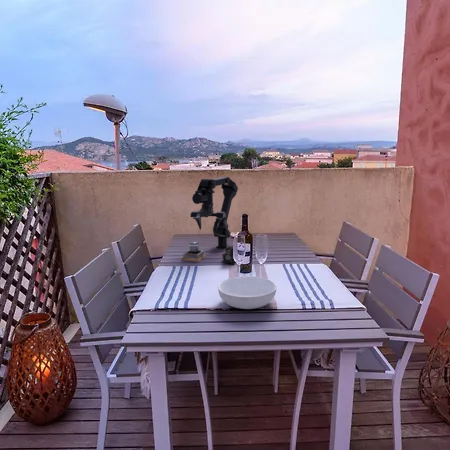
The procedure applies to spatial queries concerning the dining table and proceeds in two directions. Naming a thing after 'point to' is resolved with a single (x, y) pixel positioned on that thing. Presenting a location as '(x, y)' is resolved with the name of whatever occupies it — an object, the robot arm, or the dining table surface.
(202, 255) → the mount
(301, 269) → the dining table surface
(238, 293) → the serving bowl
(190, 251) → the lens
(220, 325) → the dining table surface
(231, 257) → the night vision scope
